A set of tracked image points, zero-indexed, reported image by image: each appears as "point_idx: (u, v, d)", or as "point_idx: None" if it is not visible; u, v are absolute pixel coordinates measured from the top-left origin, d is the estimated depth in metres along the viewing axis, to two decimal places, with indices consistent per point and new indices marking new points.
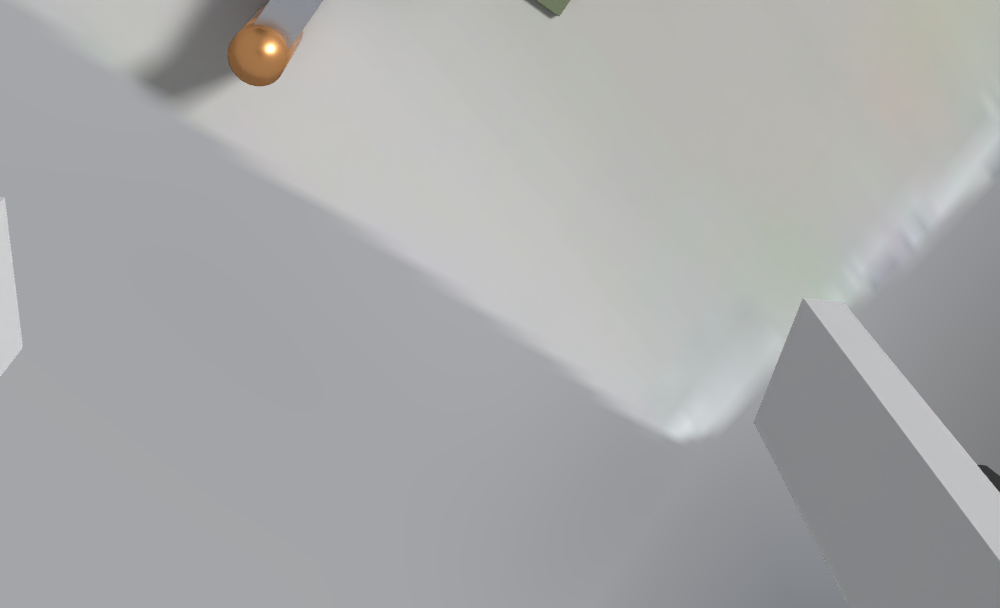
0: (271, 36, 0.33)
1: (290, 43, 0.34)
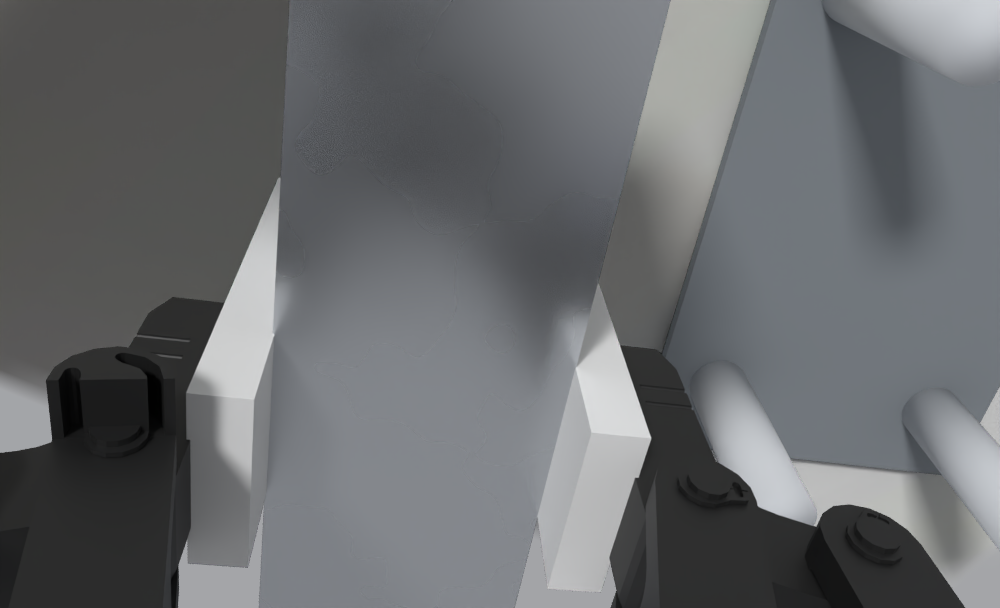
0: None
1: None
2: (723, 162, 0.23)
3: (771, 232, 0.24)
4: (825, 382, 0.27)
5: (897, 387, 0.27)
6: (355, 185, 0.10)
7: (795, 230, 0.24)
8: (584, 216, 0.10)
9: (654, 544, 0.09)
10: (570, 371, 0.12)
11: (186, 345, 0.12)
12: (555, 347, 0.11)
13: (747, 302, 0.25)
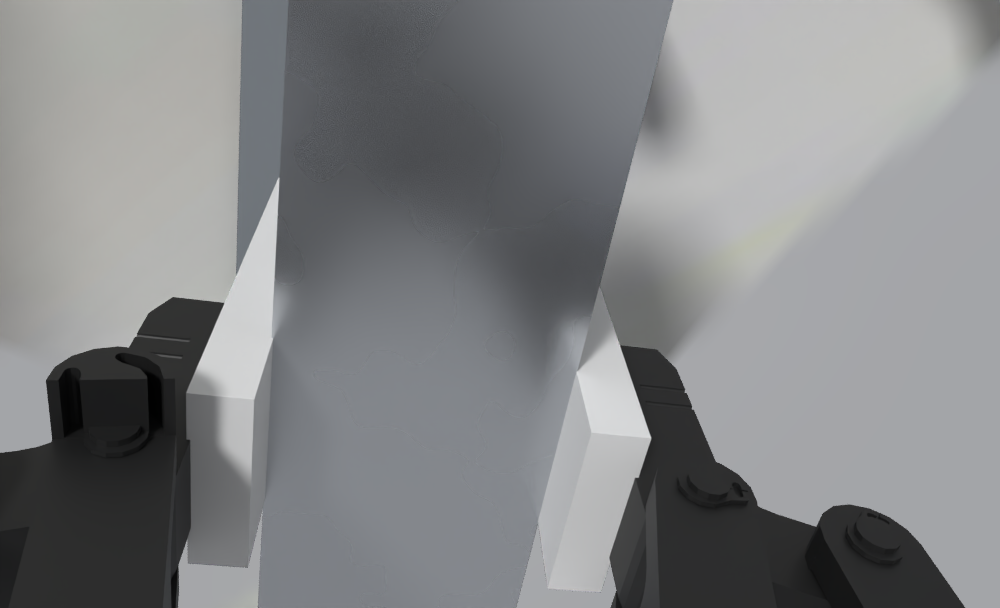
0: None
1: None
2: (243, 21, 0.25)
3: None
4: None
5: None
6: (355, 193, 0.10)
7: None
8: (585, 223, 0.10)
9: (654, 544, 0.09)
10: (570, 378, 0.11)
11: (186, 345, 0.12)
12: (555, 354, 0.11)
13: None
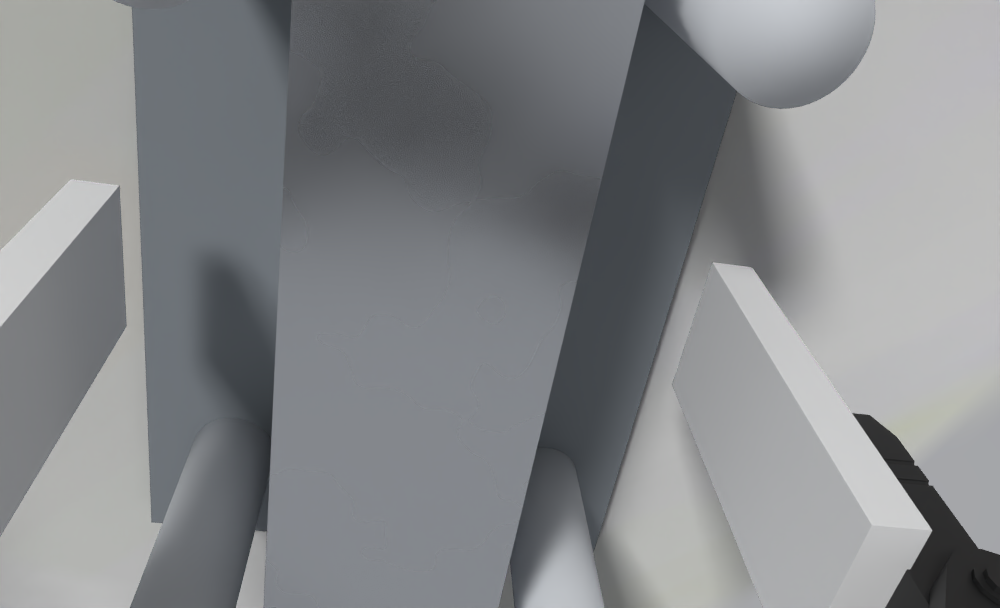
0: None
1: None
2: (140, 145, 0.16)
3: (240, 244, 0.17)
4: None
5: None
6: (354, 165, 0.11)
7: (274, 241, 0.17)
8: (569, 193, 0.11)
9: None
10: (558, 341, 0.12)
11: None
12: (543, 318, 0.12)
13: (238, 340, 0.18)
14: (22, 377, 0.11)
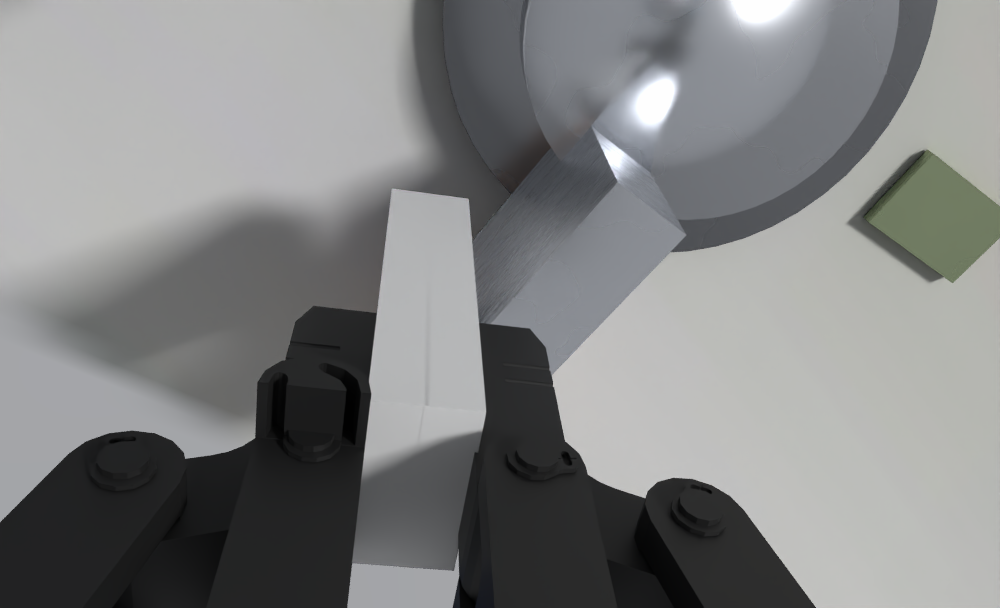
0: None
1: None
2: None
3: None
4: None
5: None
6: None
7: None
8: None
9: (486, 528, 0.09)
10: None
11: (338, 353, 0.12)
12: None
13: None
14: None
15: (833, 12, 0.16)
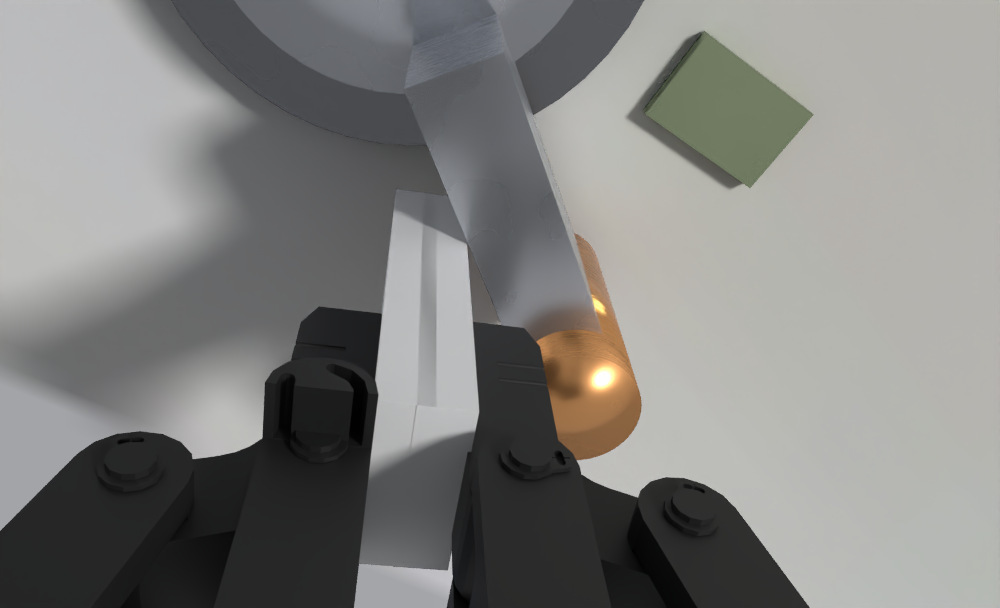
0: (560, 361, 0.14)
1: (593, 322, 0.15)
2: None
3: None
4: None
5: None
6: None
7: None
8: None
9: (480, 527, 0.09)
10: None
11: (343, 353, 0.12)
12: None
13: None
14: None
15: None
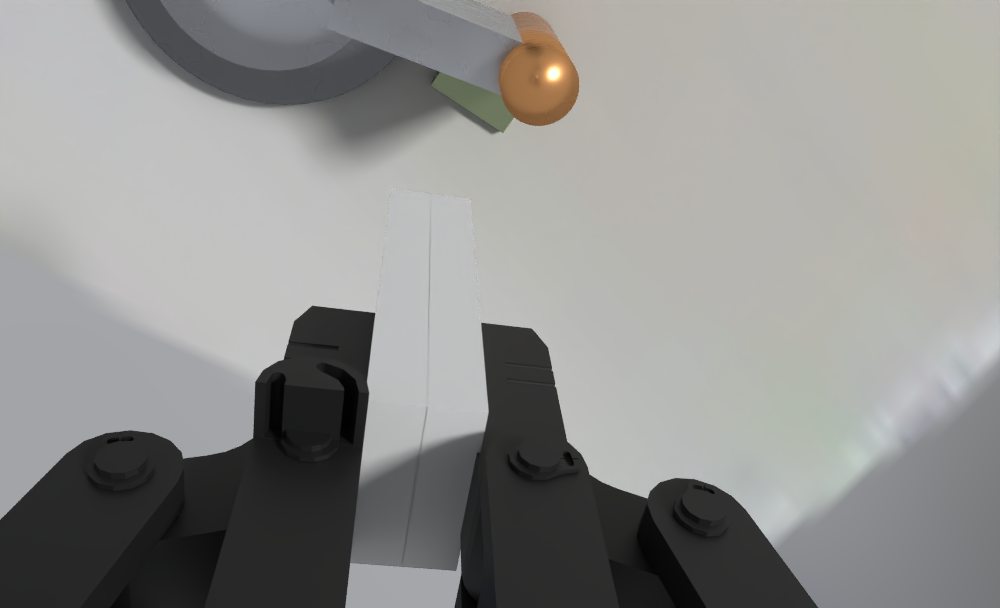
0: (504, 73, 0.24)
1: (512, 41, 0.24)
2: None
3: None
4: None
5: None
6: None
7: None
8: None
9: (489, 527, 0.09)
10: None
11: (337, 353, 0.12)
12: None
13: None
14: None
15: None
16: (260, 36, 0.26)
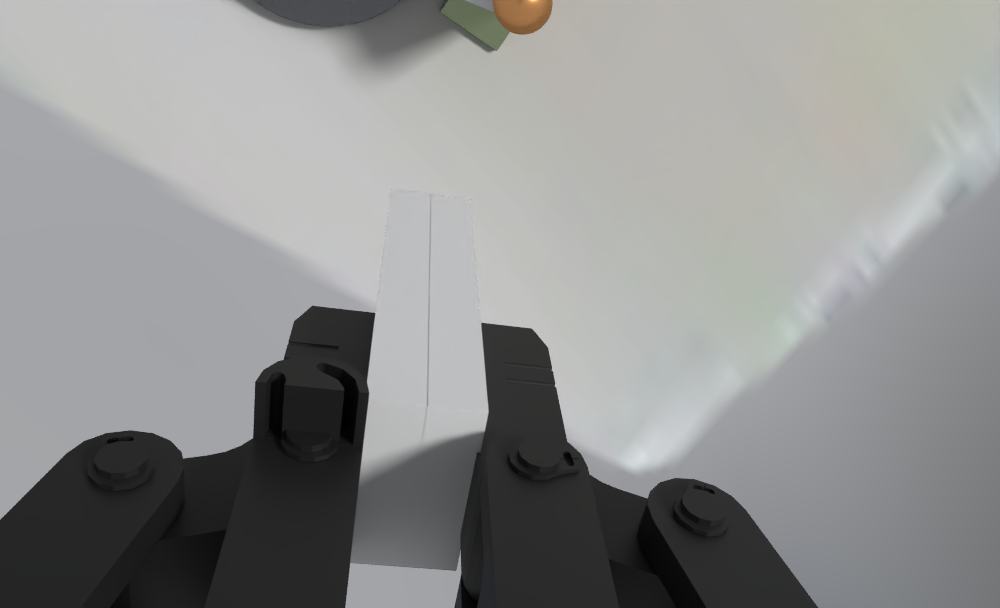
0: None
1: None
2: None
3: None
4: None
5: None
6: None
7: None
8: None
9: (488, 527, 0.09)
10: None
11: (336, 352, 0.12)
12: None
13: None
14: None
15: None
16: None
